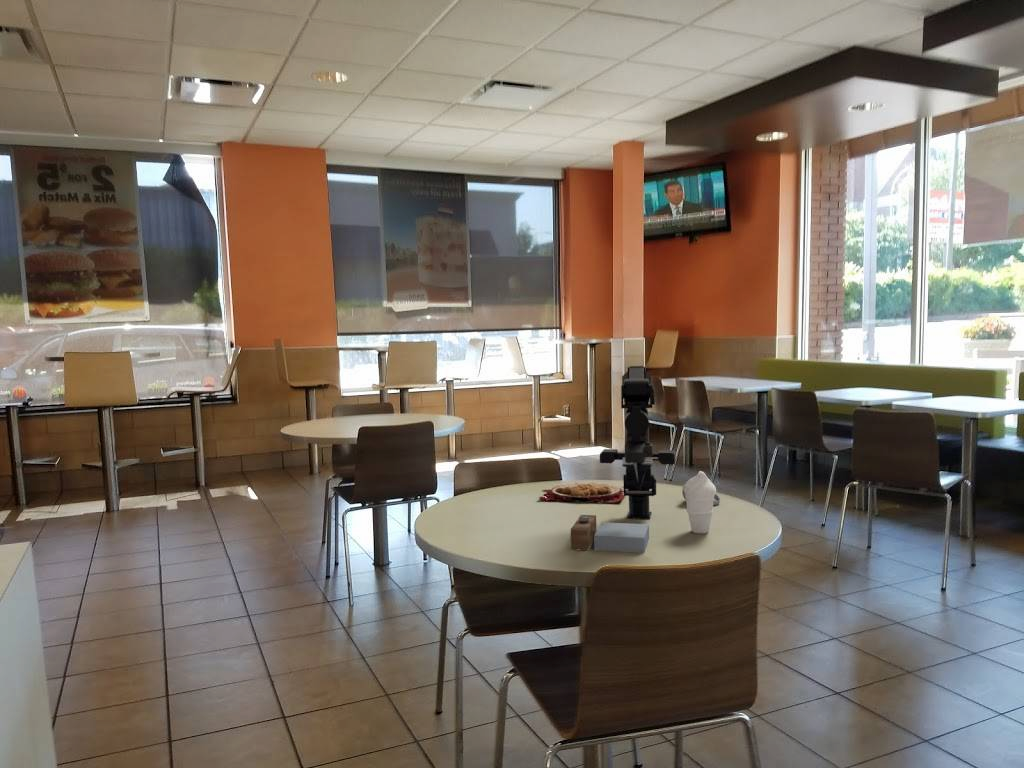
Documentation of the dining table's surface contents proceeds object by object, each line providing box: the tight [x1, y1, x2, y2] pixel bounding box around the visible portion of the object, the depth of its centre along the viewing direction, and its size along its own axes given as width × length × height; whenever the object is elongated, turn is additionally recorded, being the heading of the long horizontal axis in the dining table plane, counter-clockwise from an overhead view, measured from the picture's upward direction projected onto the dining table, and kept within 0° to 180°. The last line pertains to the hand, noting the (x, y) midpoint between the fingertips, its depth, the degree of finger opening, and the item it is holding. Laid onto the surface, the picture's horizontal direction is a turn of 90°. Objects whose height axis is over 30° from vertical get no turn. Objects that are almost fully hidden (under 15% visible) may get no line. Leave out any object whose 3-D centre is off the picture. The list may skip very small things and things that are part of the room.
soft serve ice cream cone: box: [682, 470, 717, 534], centre depth 188 cm, size 8×8×16 cm
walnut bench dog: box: [570, 514, 597, 551], centre depth 183 cm, size 14×4×6 cm, turn 164°
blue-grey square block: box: [593, 521, 650, 554], centre depth 180 cm, size 12×12×4 cm
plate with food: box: [538, 482, 628, 505], centre depth 235 cm, size 24×26×3 cm
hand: (638, 490), depth 185 cm, fingers closed
